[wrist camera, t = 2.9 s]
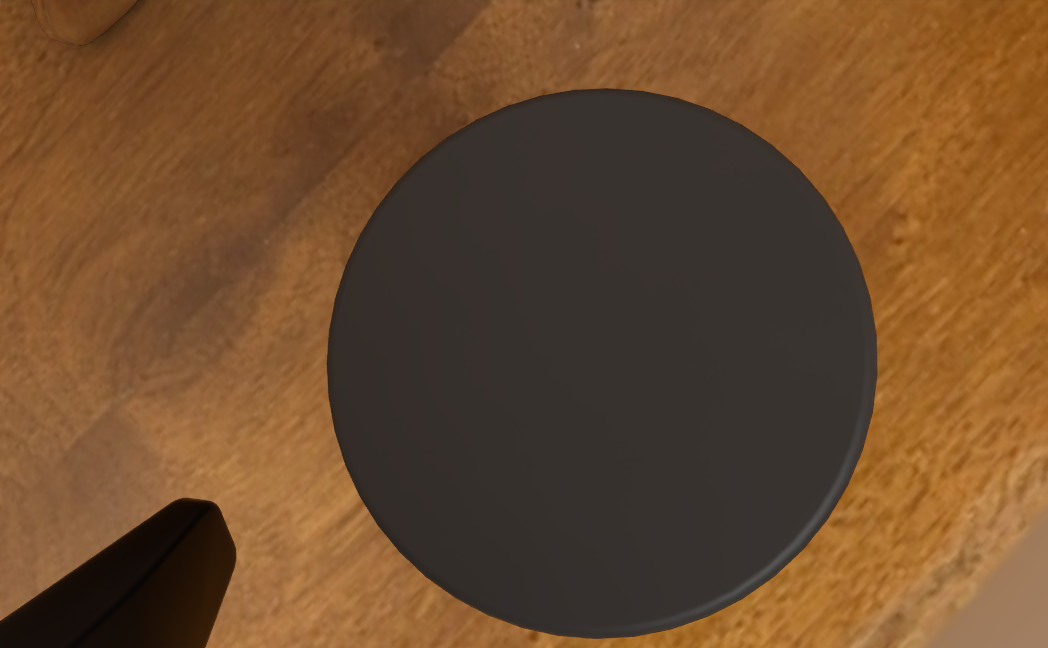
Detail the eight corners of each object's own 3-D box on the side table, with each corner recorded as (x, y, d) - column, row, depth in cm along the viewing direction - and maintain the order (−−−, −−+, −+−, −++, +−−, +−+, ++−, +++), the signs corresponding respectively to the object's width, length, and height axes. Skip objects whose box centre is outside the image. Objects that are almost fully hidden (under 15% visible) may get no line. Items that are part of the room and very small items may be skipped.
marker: (794, 438, 18) (1015, 382, 5) (665, 544, 18) (543, 766, 5) (683, 313, 19) (617, -23, 6) (561, 416, 19) (224, 322, 6)
